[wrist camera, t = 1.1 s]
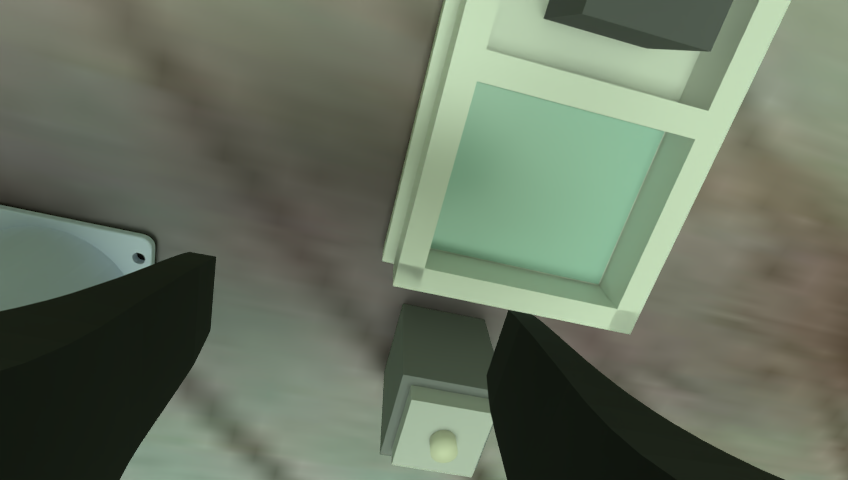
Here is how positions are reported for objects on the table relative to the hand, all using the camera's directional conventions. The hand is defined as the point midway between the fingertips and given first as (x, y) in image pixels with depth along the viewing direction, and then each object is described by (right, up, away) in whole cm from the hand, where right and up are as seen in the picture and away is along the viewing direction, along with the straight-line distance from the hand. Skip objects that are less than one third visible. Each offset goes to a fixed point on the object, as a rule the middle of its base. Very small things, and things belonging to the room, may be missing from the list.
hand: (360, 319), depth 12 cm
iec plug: (+2, -3, +12) cm, 12 cm away
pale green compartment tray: (+7, +8, +7) cm, 13 cm away
